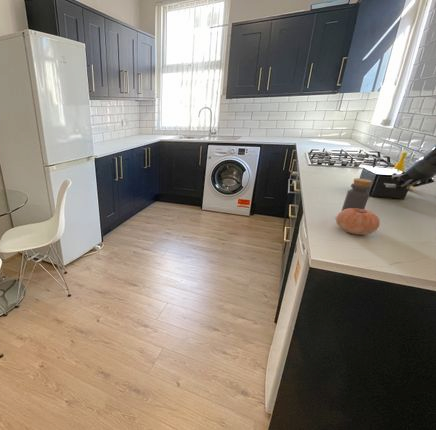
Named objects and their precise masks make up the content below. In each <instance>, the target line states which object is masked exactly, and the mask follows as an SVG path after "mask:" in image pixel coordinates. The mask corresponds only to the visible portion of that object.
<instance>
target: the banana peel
mask: <svg viewBox="0 0 436 430" xmlns="http://www.w3.org/2000/svg"><path fill="white" fill-rule="evenodd" d="M407 154H408V152H407V151H402V152H401V157H400V158H399V161H398V162H397V163H396V164H395V165H394V166H393V168H392V169H397V170H399V171H402V172H404V171H405V159H406V157H407ZM421 186H422V185H420V186H416V187H415V188H417V187H421ZM412 188H414V187H413V186H410V187H409V189H412Z"/></svg>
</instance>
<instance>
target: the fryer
mask: <svg viewBox="0 0 436 430" xmlns="http://www.w3.org/2000/svg"><path fill="white" fill-rule="evenodd" d="M393 173H396V174H401V173H402V171H399V170H397V169H393V168H384V167H369V166H363V167H362V170H361V172H360V176H359V178H360V179H367V180H371V181H372V182H371V184H370V185H369V186H371V188H370V189H369V190H367V192H368V193H369V197H378V198H387V199H388V198H389V199H399V200H400V199H401V200H405V198H399V197H388V196H377V195H371V193H372V190H373V188H374V185H375V182H376V179H377V177H378V176H387V177H392V174H393ZM401 178H402V177H401Z"/></svg>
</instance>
